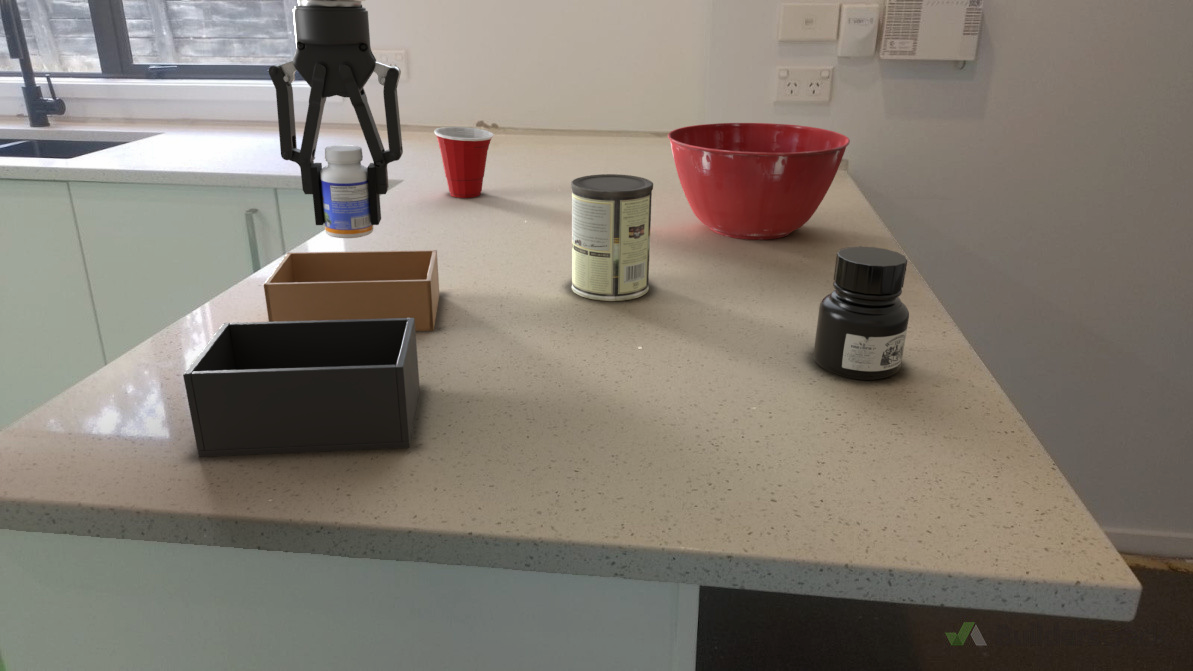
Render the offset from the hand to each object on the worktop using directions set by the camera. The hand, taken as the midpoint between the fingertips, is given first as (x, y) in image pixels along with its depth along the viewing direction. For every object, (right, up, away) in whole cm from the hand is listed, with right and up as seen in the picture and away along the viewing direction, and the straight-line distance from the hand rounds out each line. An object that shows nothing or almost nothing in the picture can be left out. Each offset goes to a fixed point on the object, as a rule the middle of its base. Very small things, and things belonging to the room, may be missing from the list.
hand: (349, 221), depth 96 cm
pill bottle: (0, -1, +1) cm, 2 cm away
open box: (+3, -21, -20) cm, 29 cm away
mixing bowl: (+54, +5, +43) cm, 69 cm away
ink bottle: (+56, -16, -7) cm, 59 cm away
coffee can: (+30, -7, +15) cm, 34 cm away
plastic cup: (+4, +13, +63) cm, 64 cm away
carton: (0, -10, +4) cm, 11 cm away
